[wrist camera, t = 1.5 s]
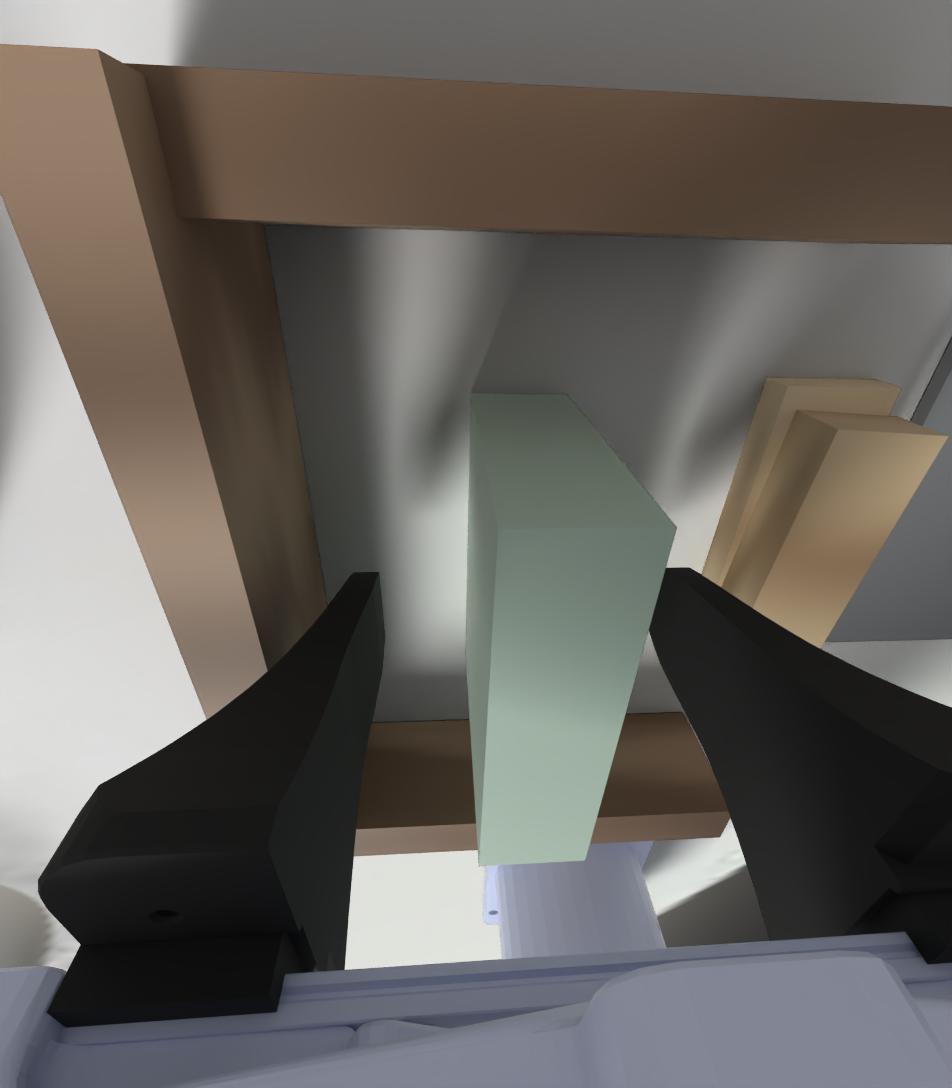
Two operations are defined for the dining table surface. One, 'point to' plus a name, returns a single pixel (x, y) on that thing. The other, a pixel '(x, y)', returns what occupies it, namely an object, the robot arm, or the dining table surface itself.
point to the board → (551, 620)
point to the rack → (375, 202)
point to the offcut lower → (766, 442)
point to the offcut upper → (827, 515)
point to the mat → (913, 547)
